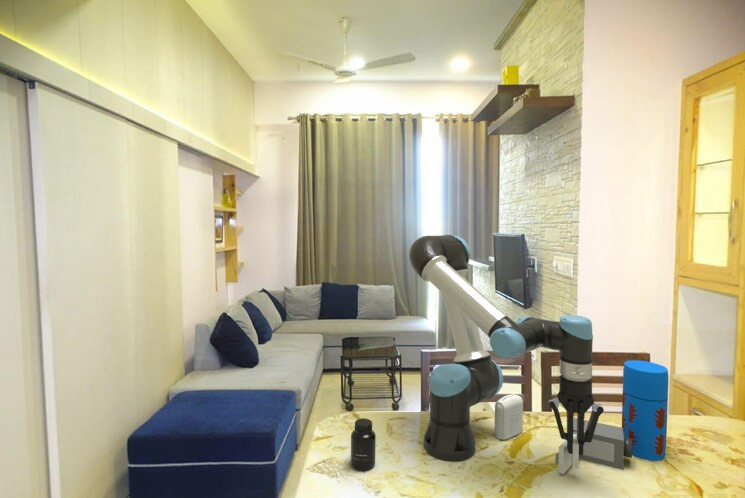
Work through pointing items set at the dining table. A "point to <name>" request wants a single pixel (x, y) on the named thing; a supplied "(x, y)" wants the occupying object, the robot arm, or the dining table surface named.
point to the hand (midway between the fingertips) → (574, 465)
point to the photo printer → (508, 416)
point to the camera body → (606, 445)
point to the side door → (564, 456)
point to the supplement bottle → (363, 445)
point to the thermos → (645, 408)
